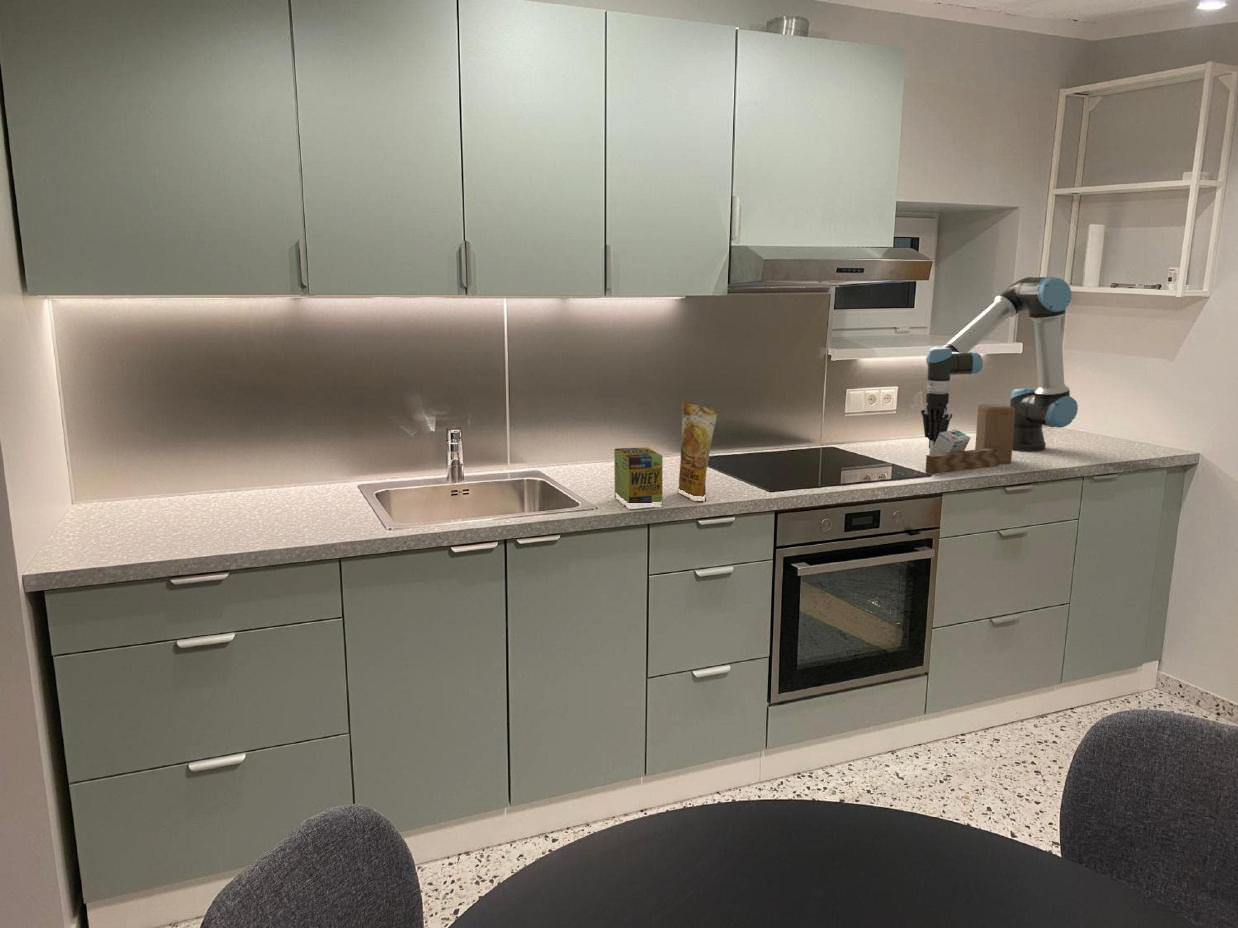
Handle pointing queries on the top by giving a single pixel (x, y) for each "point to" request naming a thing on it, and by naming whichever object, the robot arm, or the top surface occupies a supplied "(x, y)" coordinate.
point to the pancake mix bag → (695, 447)
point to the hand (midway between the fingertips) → (933, 458)
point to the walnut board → (962, 460)
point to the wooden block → (996, 429)
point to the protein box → (638, 475)
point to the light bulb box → (950, 442)
